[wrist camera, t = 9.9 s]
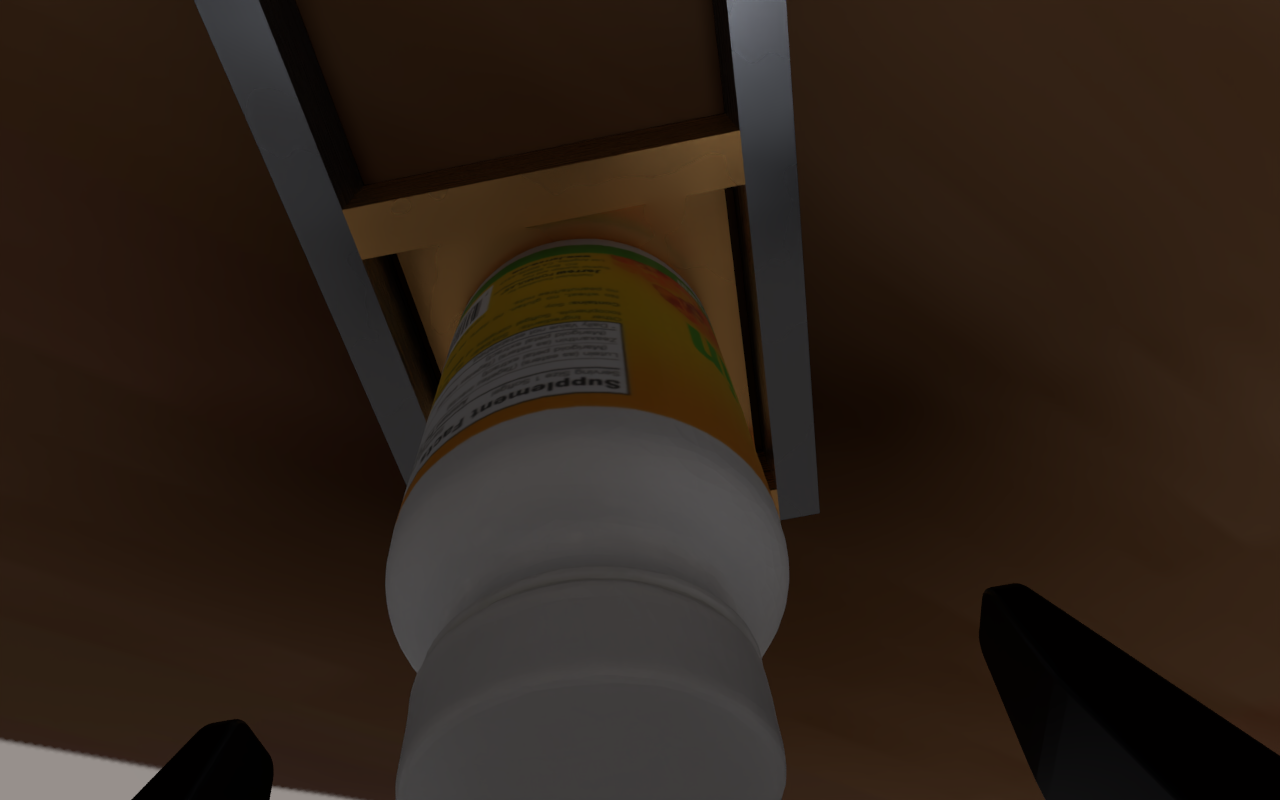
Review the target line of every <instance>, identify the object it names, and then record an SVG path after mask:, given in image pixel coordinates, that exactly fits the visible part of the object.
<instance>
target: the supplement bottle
mask: <svg viewBox="0 0 1280 800" xmlns="http://www.w3.org/2000/svg"><path fill="white" fill-rule="evenodd" d="M788 586H789V559H788V553H787V546H786V540H785V537H784V534H783V530H782V527H781V522H780V517H779V514H778V511H777V509H776V506H775V503H774V501H773V498H772V495H771V492H770V489H769V486H768V483H767V480H766V478H765V475H764V472H763V469H762V467H761V464H760V461H759V458H758V455H757V452H756V450H755V447H754V444H753V441H752V438H751V435H750V432H749V429H748V426H747V423H746V420H745V417H744V414H743V411H742V408H741V405H740V403H739V400H738V397H737V395H736V392H735V389H734V387H733V384H732V381H731V378H730V375H729V372H728V370H727V367H726V364H725V361H724V359H723V356H722V353H721V350H720V348H719V345H718V342H717V339H716V336H715V333H714V331H713V328H712V326H711V323H710V320H709V318H708V316H707V314H706V312H705V309H704V307H703V306H702V304H701V302H700V300H699V298H698V297H697V295H696V294H695V293H694V291H693V290H692V288H691V287H690V286H689V285H688V284H687V282H686V281H685V280H684V279H683V278H682V277H681V276H680V275H679V274H678V273H677V272H675V271H674V270H673V269H672V268H671V267H669V266H668V265H667V264H665V263H664V262H663V261H661V260H659V259H658V258H656V257H654V256H653V255H651V254H649V253H647V252H645V251H643V250H640V249H638V248H636V247H633V246H630V245H627V244H623V243H619V242H614V241H610V240H602V239H569V240H561V241H556V242H551V243H547V244H544V245H540V246H537V247H534V248H532V249H529V250H527V251H525V252H523V253H521V254H519V255H517V256H515V257H514V258H512V259H510V260H509V261H507V262H506V263H504V264H503V265H502V266H500V267H499V268H498V269H497V270H496V271H494V272H493V273H492V274H491V275H490V276H489V277H488V278H487V279H486V280H485V281H484V282H483V283H482V284H481V285H480V287H479V288H478V289H477V291H476V292H475V293H474V295H473V296H472V297H471V299H470V301H469V302H468V304H467V306H466V308H465V310H464V312H463V314H462V316H461V319H460V321H459V324H458V326H457V329H456V331H455V334H454V337H453V340H452V343H451V345H450V349H449V353H448V355H447V359H446V363H445V365H444V368H443V372H442V375H441V378H440V382H439V385H438V388H437V392H436V395H435V398H434V401H433V404H432V408H431V411H430V414H429V417H428V420H427V423H426V427H425V431H424V434H423V437H422V440H421V443H420V447H419V450H418V453H417V457H416V460H415V463H414V466H413V469H412V472H411V475H410V479H409V482H408V485H407V488H406V491H405V494H404V498H403V501H402V504H401V508H400V511H399V514H398V517H397V520H396V523H395V527H394V531H393V536H392V540H391V545H390V550H389V555H388V560H387V565H386V580H385V587H386V601H387V606H388V612H389V617H390V620H391V624H392V627H393V631H394V634H395V636H396V638H397V640H398V643H399V645H400V647H401V649H402V651H403V653H404V654H405V656H406V658H407V659H408V661H409V662H410V664H411V666H412V667H413V668H414V670H415V671H416V672H417V675H416V678H415V681H414V684H413V686H412V690H411V694H410V699H409V711H408V718H407V724H406V730H405V735H404V740H403V745H402V750H401V756H400V761H399V766H398V771H397V778H396V800H781V799H782V795H783V791H784V788H785V785H786V760H785V752H784V745H783V741H782V737H781V733H780V730H779V726H778V722H777V718H776V713H775V708H774V703H773V699H772V695H771V692H770V688H769V684H768V681H767V677H766V674H765V671H764V668H763V664H762V657H763V655H764V654H765V652H766V650H767V649H768V647H769V645H770V644H771V642H772V640H773V638H774V636H775V634H776V632H777V630H778V627H779V625H780V622H781V619H782V616H783V613H784V610H785V606H786V601H787V594H788Z"/></svg>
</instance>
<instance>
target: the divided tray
mask: <svg viewBox="0 0 1280 800" xmlns="http://www.w3.org/2000/svg"><path fill="white" fill-rule="evenodd" d="M194 1H195V4H196V6H197V8H198V10H199V13H200V15H201V17H202V20H203V22H204V24H205V26H206V29H207V31H208V33H209V36H210V38H211V40H212V42H213V45H214V47H215V49H216V52H217V54H218V56H219V58H220V61H221V63H222V65H223V68H224V70H225V72H226V74H227V77H228V79H229V81H230V84H231V86H232V88H233V90H234V93H235V95H236V97H237V100H238V102H239V104H240V106H241V109H242V111H243V113H244V116H245V118H246V120H247V122H248V125H249V127H250V129H251V132H252V134H253V136H254V138H255V141H256V143H257V145H258V148H259V150H260V152H261V154H262V157H263V159H264V161H265V164H266V166H267V168H268V170H269V173H270V175H271V177H272V180H273V182H274V184H275V186H276V189H277V191H278V193H279V195H280V198H281V200H282V202H283V205H284V207H285V209H286V211H287V214H288V216H289V218H290V221H291V223H292V225H293V227H294V230H295V232H296V234H297V237H298V239H299V241H300V243H301V246H302V248H303V250H304V253H305V255H306V257H307V259H308V262H309V264H310V266H311V269H312V271H313V273H314V275H315V278H316V280H317V282H318V285H319V287H320V289H321V291H322V294H323V296H324V298H325V301H326V303H327V305H328V307H329V310H330V312H331V314H332V317H333V319H334V321H335V323H336V326H337V328H338V330H339V333H340V335H341V337H342V339H343V342H344V344H345V346H346V349H347V351H348V353H349V355H350V358H351V360H352V362H353V365H354V367H355V369H356V371H357V374H358V376H359V378H360V381H361V383H362V385H363V387H364V390H365V392H366V394H367V397H368V399H369V401H370V403H371V406H372V408H373V410H374V413H375V415H376V417H377V419H378V422H379V424H380V426H381V429H382V431H383V433H384V435H385V438H386V440H387V442H388V444H389V447H390V449H391V451H392V454H393V456H394V458H395V460H396V463H397V465H398V467H399V470H400V472H401V474H402V476H403V479H404V481H405V483H406V486H407V485H408V482H409V479H410V475H411V472H412V469H413V466H414V463H415V460H416V457H417V453H418V450H419V447H420V443H421V440H422V437H423V434H424V431H425V427H426V423H427V420H428V417H429V414H430V411H431V408H432V404H433V401H434V398H435V395H436V392H437V388H438V382H437V379H436V377H435V374H434V371H433V369H432V366H431V363H430V361H429V358H428V355H427V353H426V350H425V347H424V345H423V342H422V339H421V337H420V334H419V331H418V329H417V326H416V323H415V321H414V318H413V315H412V313H411V310H410V307H409V305H408V302H407V299H406V297H405V294H404V291H403V289H402V286H401V283H400V281H399V278H398V275H397V273H396V270H395V267H394V265H393V262H392V259H391V257H390V254H394V253H397V256H398V259H399V261H400V264H401V267H402V270H403V272H404V275H405V278H406V280H407V283H408V286H409V289H410V291H411V294H412V297H413V299H414V302H415V305H416V308H417V310H418V313H419V316H420V318H421V321H422V324H423V326H424V329H425V332H426V335H427V337H428V340H429V343H430V345H431V348H432V351H433V354H434V356H435V359H436V362H437V364H438V367H439V370H440V373H441V375H442V372H443V368H444V365H445V363H446V359H447V355H448V353H449V349H450V345H451V343H452V340H453V337H454V334H455V331H456V329H457V326H458V324H459V321H460V319H461V316H462V314H463V312H464V310H465V308H466V306H467V304H468V302H469V301H470V299H471V297H472V296H473V295H474V293H475V292H476V291H477V289H478V288H479V287H480V285H481V284H482V283H483V282H484V281H485V280H486V279H487V278H488V277H489V276H490V275H491V274H492V273H493V272H494V271H496V270H497V269H498V268H499V267H500V266H502V265H503V264H504V263H506V262H507V261H509V260H510V259H512V258H514V257H515V256H517V255H519V254H521V253H523V252H525V251H527V250H529V249H532V248H534V247H537V246H540V245H544V244H547V243H551V242H556V241H561V240H569V239H602V240H610V241H614V242H619V243H623V244H627V245H630V246H633V247H636V248H638V249H640V250H643V251H645V252H647V253H649V254H651V255H653V256H654V257H656V258H658V259H659V260H661V261H663V262H664V263H665V264H667V265H668V266H669V267H671V268H672V269H673V270H674V271H675V272H677V273H678V274H679V275H680V276H681V277H682V278H683V279H684V280H685V281H686V282H687V284H688V285H689V286H690V287H691V288H692V290H693V291H694V293H695V294H696V295H697V297H698V298H699V300H700V302H701V304H702V306H703V307H704V309H705V312H706V314H707V316H708V318H709V320H710V323H711V326H712V328H713V331H714V333H715V336H716V339H717V342H718V345H719V348H720V350H721V353H722V356H723V359H724V361H725V364H726V367H727V370H728V372H729V375H730V378H731V381H732V384H733V387H734V389H735V392H736V395H737V397H738V400H739V403H740V405H741V408H742V411H743V414H744V417H745V420H746V423H747V426H748V429H749V432H750V435H751V438H752V441H753V444H754V447H755V442H754V434H753V426H752V417H751V409H750V400H749V392H748V383H747V375H746V367H745V358H744V350H743V341H742V333H741V324H740V316H739V308H738V299H737V291H736V282H735V274H734V265H733V257H732V249H731V240H730V232H729V223H728V215H727V206H726V198H725V190H724V188H729V187H733V188H734V197H735V206H736V215H737V224H738V233H739V242H740V251H741V260H742V269H743V278H744V287H745V295H746V304H747V313H748V322H749V331H750V340H751V349H752V358H753V367H754V376H755V385H756V394H757V403H758V411H759V420H760V429H761V438H762V447H763V450H761V451H756V452H757V455H758V458H759V461H760V464H761V467H762V469H763V472H764V475H765V478H766V480H767V483H768V486H769V489H770V492H771V495H772V498H773V501H774V503H775V506H776V509H777V511H778V514H779V517H780V520H785V519H790V518H796V517H801V516H807V515H812V514H818V513H820V510H819V495H818V479H817V464H816V449H815V434H814V419H813V404H812V388H811V373H810V358H809V343H808V328H807V313H806V297H805V282H804V267H803V252H802V237H801V222H800V207H799V191H798V176H797V161H796V146H795V131H794V116H793V100H792V85H791V70H790V55H789V40H788V25H787V9H786V0H712V1H713V10H714V19H715V28H716V37H717V46H718V55H719V64H720V73H721V81H722V90H723V99H724V108H725V113H723V114H718V115H713V116H708V117H703V118H698V119H693V120H688V121H683V122H678V123H673V124H668V125H663V126H658V127H653V128H648V129H643V130H638V131H633V132H628V133H623V134H618V135H613V136H608V137H603V138H598V139H593V140H589V141H584V142H579V143H574V144H569V145H564V146H559V147H554V148H549V149H544V150H539V151H534V152H529V153H524V154H519V155H514V156H509V157H504V158H499V159H494V160H489V161H484V162H479V163H474V164H469V165H464V166H459V167H454V168H449V169H444V170H439V171H434V172H429V173H424V174H419V175H414V176H409V177H404V178H399V179H395V180H390V181H385V182H380V183H375V184H370V185H365V186H364V184H363V182H362V179H361V176H360V174H359V171H358V168H357V166H356V163H355V160H354V158H353V155H352V152H351V150H350V147H349V144H348V142H347V139H346V136H345V134H344V131H343V128H342V126H341V123H340V120H339V118H338V115H337V112H336V110H335V107H334V104H333V102H332V99H331V96H330V94H329V91H328V88H327V86H326V83H325V80H324V78H323V75H322V72H321V70H320V67H319V64H318V62H317V59H316V56H315V54H314V51H313V48H312V46H311V43H310V40H309V38H308V35H307V32H306V30H305V27H304V24H303V22H302V19H301V16H300V14H299V11H298V8H297V6H296V3H295V0H194Z"/></svg>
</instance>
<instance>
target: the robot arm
mask: <svg viewBox="0 0 1280 800" xmlns="http://www.w3.org/2000/svg"><path fill="white" fill-rule="evenodd" d="M979 641H980V646H981V650H982V653H983V656H984V658H985V661H986V663H987V665H988V668H989V670H990V673H991V675H992V677H993V680H994V682H995V685H996V687H997V689H998V692H999V694H1000V697H1001V699H1002V702H1003V704H1004V706H1005V709H1006V711H1007V714H1008V716H1009V718H1010V721H1011V723H1012V726H1013V728H1014V730H1015V733H1016V735H1017V738H1018V740H1019V743H1020V745H1021V747H1022V750H1023V752H1024V755H1025V757H1026V759H1027V762H1028V764H1029V766H1030V769H1031V771H1032V773H1033V775H1034V778H1035V780H1036V782H1037V784H1038V786H1039V788H1040V790H1041V792H1042V794H1043V796H1044V798H1045V800H1280V756H1279V755H1278V754H1276V753H1275V752H1273V751H1272V750H1270V749H1269V748H1267V747H1266V746H1264V745H1263V744H1261V743H1260V742H1258V741H1257V740H1255V739H1254V738H1252V737H1251V736H1250V735H1248V734H1247V733H1245V732H1244V731H1242V730H1241V729H1239V728H1238V727H1236V726H1235V725H1233V724H1232V723H1230V722H1229V721H1227V720H1226V719H1224V718H1223V717H1221V716H1220V715H1218V714H1217V713H1215V712H1214V711H1212V710H1211V709H1209V708H1208V707H1206V706H1205V705H1203V704H1202V703H1200V702H1199V701H1197V700H1196V699H1194V698H1193V697H1191V696H1190V695H1188V694H1187V693H1185V692H1184V691H1182V690H1181V689H1179V688H1178V687H1176V686H1175V685H1173V684H1172V683H1170V682H1169V681H1167V680H1166V679H1164V678H1163V677H1161V676H1160V675H1158V674H1157V673H1155V672H1154V671H1152V670H1151V669H1149V668H1148V667H1146V666H1145V665H1143V664H1142V663H1140V662H1139V661H1137V660H1136V659H1135V658H1133V657H1132V656H1130V655H1129V654H1127V653H1126V652H1124V651H1123V650H1121V649H1120V648H1118V647H1117V646H1115V645H1114V644H1112V643H1111V642H1109V641H1108V640H1106V639H1105V638H1103V637H1102V636H1100V635H1099V634H1097V633H1096V632H1094V631H1093V630H1091V629H1090V628H1088V627H1087V626H1085V625H1084V624H1082V623H1081V622H1079V621H1078V620H1076V619H1075V618H1073V617H1072V616H1070V615H1069V614H1067V613H1066V612H1064V611H1063V610H1061V609H1060V608H1058V607H1057V606H1055V605H1054V604H1052V603H1051V602H1049V601H1048V600H1046V599H1045V598H1043V597H1042V596H1040V595H1039V594H1037V593H1036V592H1034V591H1033V590H1031V589H1030V588H1028V587H1027V586H1025V585H1022V584H1018V583H1013V584H1007V585H1001V586H996V587H990V588H988V589H986V590H985V592H984V593H983V597H982V606H981V617H980V628H979ZM272 782H273V762H272V759H271V756H270V755H269V753H268V752H267V750H266V749H265V748H264V746H263V745H262V744H261V742H260V741H259V740H258V738H257V737H256V736H255V734H254V733H253V731H252V730H251V729H250V727H249V726H248V725H247V724H246V723H245V722H244V721H242V720H239V719H233V720H227V721H222V722H216V723H211V724H208V725H206V726H204V727H203V728H201V729H200V730H199V731H198V732H197V733H196V734H195V735H194V736H193V737H192V738H191V739H190V740H189V741H188V742H187V743H186V744H185V745H184V746H183V747H182V748H181V749H180V750H179V751H178V752H177V753H176V755H175V756H174V757H173V758H172V759H171V760H170V761H169V762H168V763H167V764H166V765H165V766H164V767H163V768H162V769H161V770H160V771H159V772H158V773H157V774H156V775H155V776H154V777H153V778H152V779H151V780H150V781H149V782H148V783H147V784H146V786H144V787H143V788H142V790H140V792H139V793H138V794H137V795H136V796H135V797H134V798H133V799H132V800H270V793H271V788H272Z"/></svg>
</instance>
